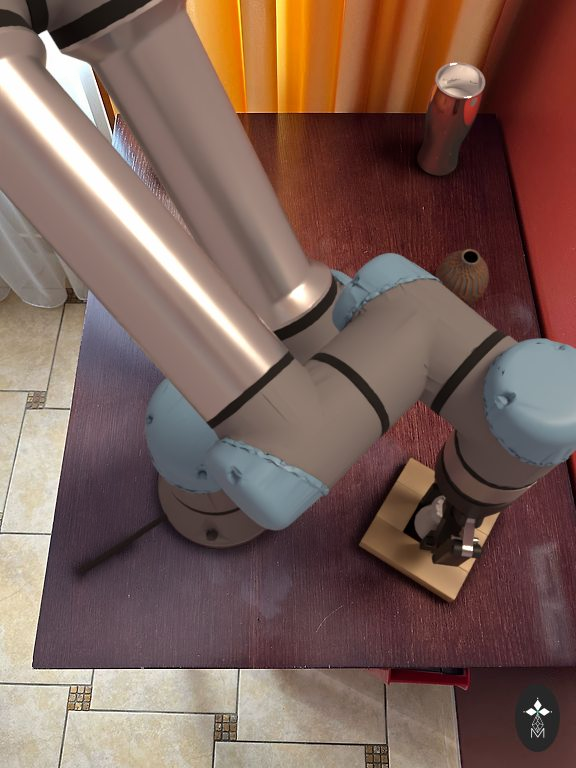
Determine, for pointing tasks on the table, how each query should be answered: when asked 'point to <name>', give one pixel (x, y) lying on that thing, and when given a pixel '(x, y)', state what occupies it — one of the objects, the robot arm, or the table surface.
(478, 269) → the vase
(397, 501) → the square wooden frame
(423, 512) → the rook chess piece
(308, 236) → the table surface
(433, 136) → the chrome pint tumbler
